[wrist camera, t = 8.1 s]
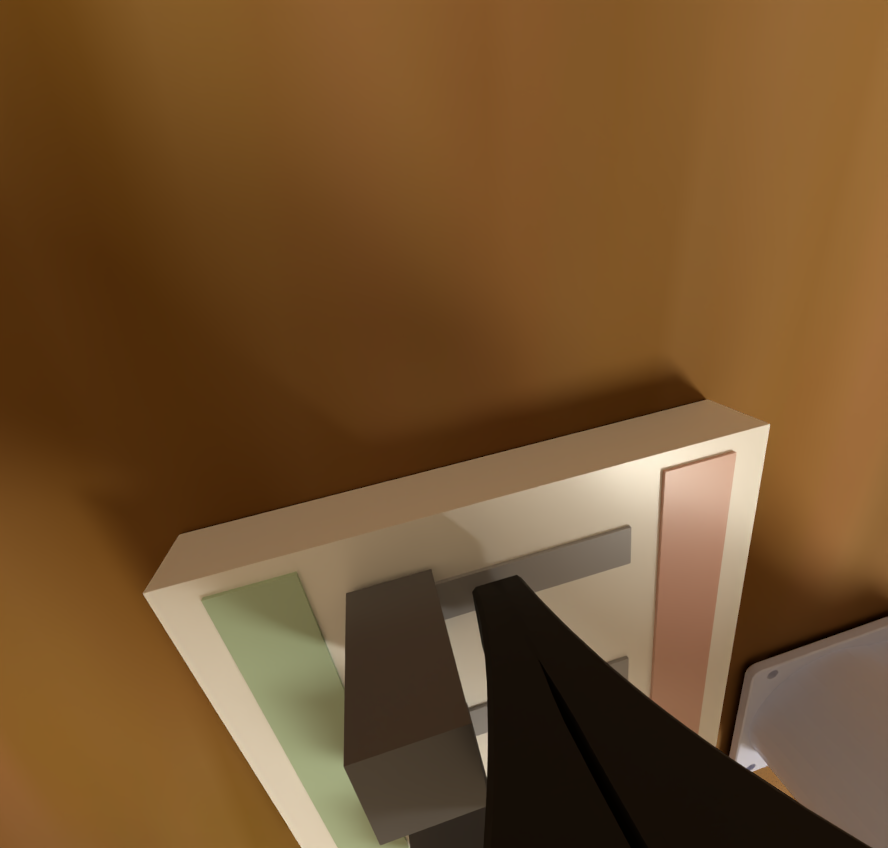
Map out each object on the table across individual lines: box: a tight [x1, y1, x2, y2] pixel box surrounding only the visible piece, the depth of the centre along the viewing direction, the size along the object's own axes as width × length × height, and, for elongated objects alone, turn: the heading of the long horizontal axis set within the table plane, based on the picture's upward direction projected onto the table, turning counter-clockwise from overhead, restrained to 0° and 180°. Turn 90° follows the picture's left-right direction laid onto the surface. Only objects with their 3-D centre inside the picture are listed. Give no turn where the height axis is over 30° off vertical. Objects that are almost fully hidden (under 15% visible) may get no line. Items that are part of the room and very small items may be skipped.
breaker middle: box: [409, 703, 487, 848], centre depth 10 cm, size 2×2×4 cm
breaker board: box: [143, 399, 770, 848], centre depth 13 cm, size 15×15×2 cm
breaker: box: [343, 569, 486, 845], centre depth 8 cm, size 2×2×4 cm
